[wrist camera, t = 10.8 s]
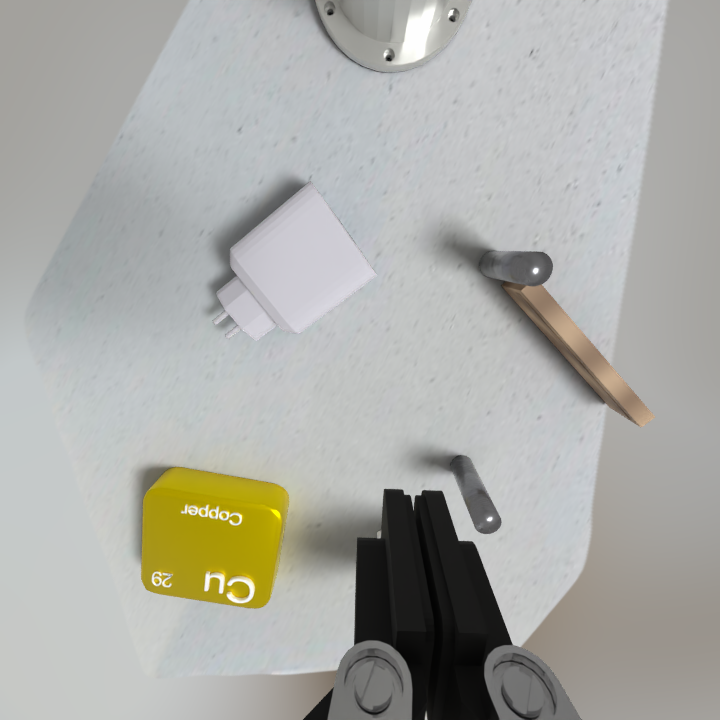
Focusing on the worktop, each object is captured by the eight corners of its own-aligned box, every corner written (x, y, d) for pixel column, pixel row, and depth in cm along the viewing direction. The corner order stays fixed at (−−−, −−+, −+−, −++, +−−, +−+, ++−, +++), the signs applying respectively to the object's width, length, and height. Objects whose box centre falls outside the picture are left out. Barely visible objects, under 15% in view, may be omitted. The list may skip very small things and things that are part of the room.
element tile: (292, 484, 42) (283, 513, 37) (276, 580, 46) (266, 617, 42) (163, 461, 41) (139, 488, 37) (159, 562, 46) (136, 596, 41)
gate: (500, 285, 34) (520, 291, 30) (513, 273, 34) (535, 277, 29) (609, 407, 38) (640, 427, 33) (622, 397, 37) (655, 416, 33)
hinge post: (481, 250, 34) (521, 250, 25) (506, 251, 34) (555, 252, 25) (477, 276, 34) (515, 285, 26) (502, 277, 34) (548, 287, 26)
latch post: (452, 455, 40) (476, 511, 31) (473, 456, 40) (503, 512, 31) (449, 473, 41) (472, 533, 32) (470, 474, 41) (499, 534, 32)
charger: (197, 287, 35) (317, 188, 32) (259, 359, 37) (376, 272, 34) (173, 293, 31) (309, 178, 28) (244, 375, 33) (378, 275, 30)
